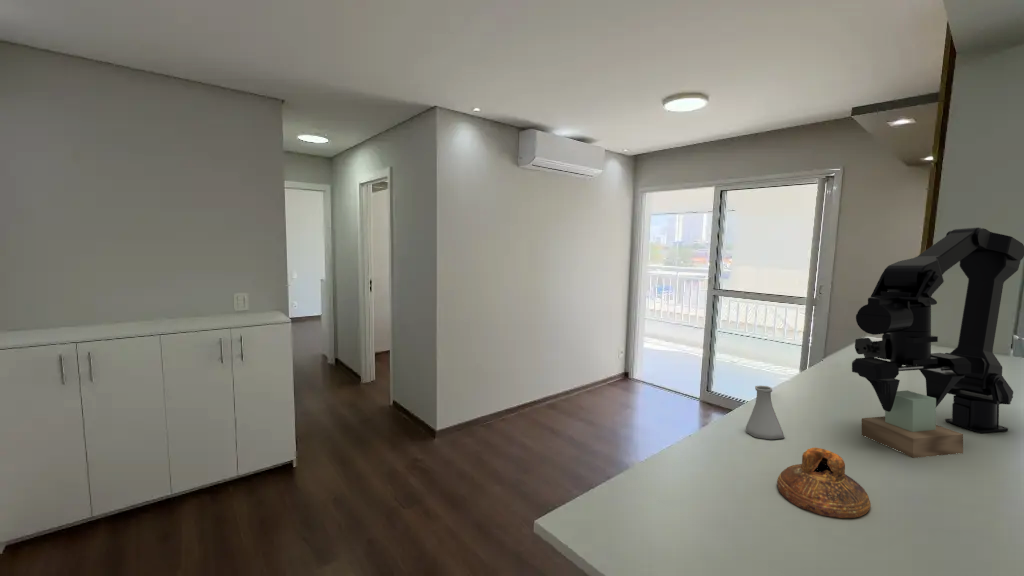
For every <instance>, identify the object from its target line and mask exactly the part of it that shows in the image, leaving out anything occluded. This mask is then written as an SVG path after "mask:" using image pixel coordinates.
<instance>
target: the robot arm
mask: <svg viewBox="0 0 1024 576" xmlns="http://www.w3.org/2000/svg"><path fill="white" fill-rule="evenodd" d="M1023 259H1024V244H1023V243H1022V242H1021V241H1020V240H1018V239H1016V238H1014V237H1013V236H1011V235H1007V234H1002V233H998V232H997V233H996V232H992V231H989V230H988V229H986V228H983V227H967V228H954V229H952V230H949V231H948V232H947V233H946V235H945V236H944V237H943V238H941V239H940V240H939V241H937V242H936V243H934V244H933V245H931V246H930V247H929V248H927V249H926V250H924V251H922V252H921V253H920V254H918V255H917V256H915V257H913V258H908V259H904V260H899V261H896V262H894V263H891V264H888V266H886V267H885V268H884V270H883V272H882V273H881V275H880V277H879V279H878V281H877V283H876V284H875V287H874V289H873V291H872V293H871V295H870V297H868V298H867V304H865V305H863V306H861V307H860V308H859V310H858V311H857V312H856V314H855V321H856V324H857V326H858V327H859V328H860V329H861V330H862V331H863V332H865V333H867V334H869V335H872V336H873V335H874V336H875V335H882V337H881V338H882V339H881V340H876V341H875V340H874V341H872V340H871V338H869V337H861V338H856V339H855V341H854V350H855V352H856V354H857V355H863V356H864V357H857V358H854V359H853V360H852V362H851V372H852V373H854V374H857V375H858V376H859V377H861V378H863V379H866V380H867V381H868V382H869V383H870V384H871V386H872V388H873V390H874V391H875V394H876V396H877V398H878V401H879V403H880V405H881V407H882V409H883V411H884V412H885V411H888V412H890V411H891V409H892V407H893V404H894V400H895V396H896V393H897V391H898V388H899V386H900V385H899V384H900V383H901V382H900V379H897V377H898V375H900V373H899V372H907V371H908V372H909V371H920V373H921V374H922V376H924V379H925V389H926V391H925V392H926V396H929V397H933V398H936V408H937V407H938V406H939V405H940V404H941V402H942V401H943V399H944V398H945V397H946V395H947V394H948V395H953V401H952V402H953V403H952V405H951V408H952V410H951V412H952V413H951V416H952V417H951V418H945V419H944V421H945V422H947V423H949V424H953V425H955V426H958V427H961V428H965V429H967V430H970V431H972V432H976V433H980V434H983V433H997V432H1006V431H1009V427H1005V426H1003V425H1000V405H1011V402H1012V400H1013V398H1014V390H1013V389H1012V387H1011V386H1010V384H1009V383H1008V382H1007V380H1006V379H1005V378H1004V375H1003V365H1002V364H1001V362H1000V361H999V360H998V358H997V356H996V355H995V354H994V353H993V352H994V351H993V350H994V344H995V337H996V331H997V326H998V320H999V313H1000V306H1001V302H1002V294H1003V289H1004V283H1005V282H1006V281H1007V280H1008V279H1010V277H1012V276H1013V275H1014V274H1016V272H1017V271H1019V268H1020V265H1021V261H1022V260H1023ZM958 263H959V267H960V269H961V271H962V272H963V274H964V275H965V276H966V277H967V279H968V280H967V288H966V294H965V299H964V306H963V311H962V312H963V313H962V319H961V324H960V325H961V326H960V328H959V329H960V330H959V336H958V344H957V346H956V347H955V348H954V349H953V350H952V351H951V352H945V353H942V352H932V343H938V342H939V336H937V335H932V306H934V305H937V304H938V302H937V300H936V299H935V298H933V297H932V295H934V293H935V292H936V291H937V290H938V289H939V288H940V287H941V286H942V284H944V282H945V280H944V278H943V277H944V276H943V275H944V274H945V273H946V272H947V271H948V270H950V269H951V268H953V267H955V265H956V264H958Z"/></svg>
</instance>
